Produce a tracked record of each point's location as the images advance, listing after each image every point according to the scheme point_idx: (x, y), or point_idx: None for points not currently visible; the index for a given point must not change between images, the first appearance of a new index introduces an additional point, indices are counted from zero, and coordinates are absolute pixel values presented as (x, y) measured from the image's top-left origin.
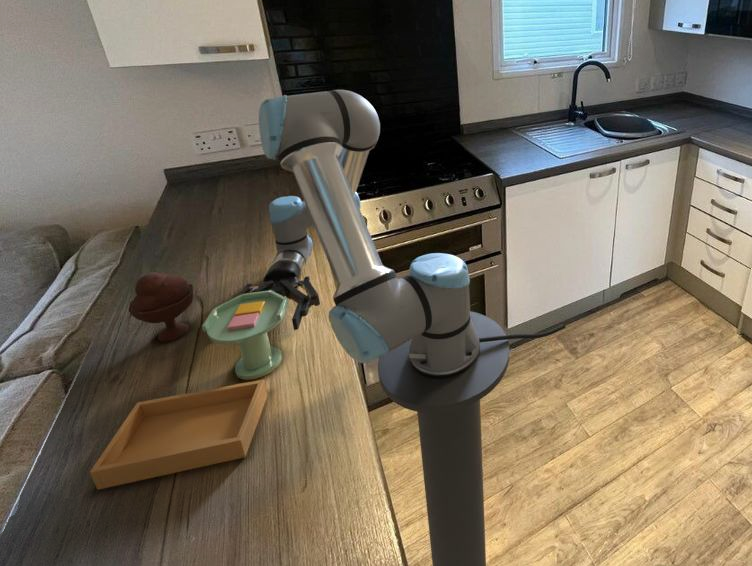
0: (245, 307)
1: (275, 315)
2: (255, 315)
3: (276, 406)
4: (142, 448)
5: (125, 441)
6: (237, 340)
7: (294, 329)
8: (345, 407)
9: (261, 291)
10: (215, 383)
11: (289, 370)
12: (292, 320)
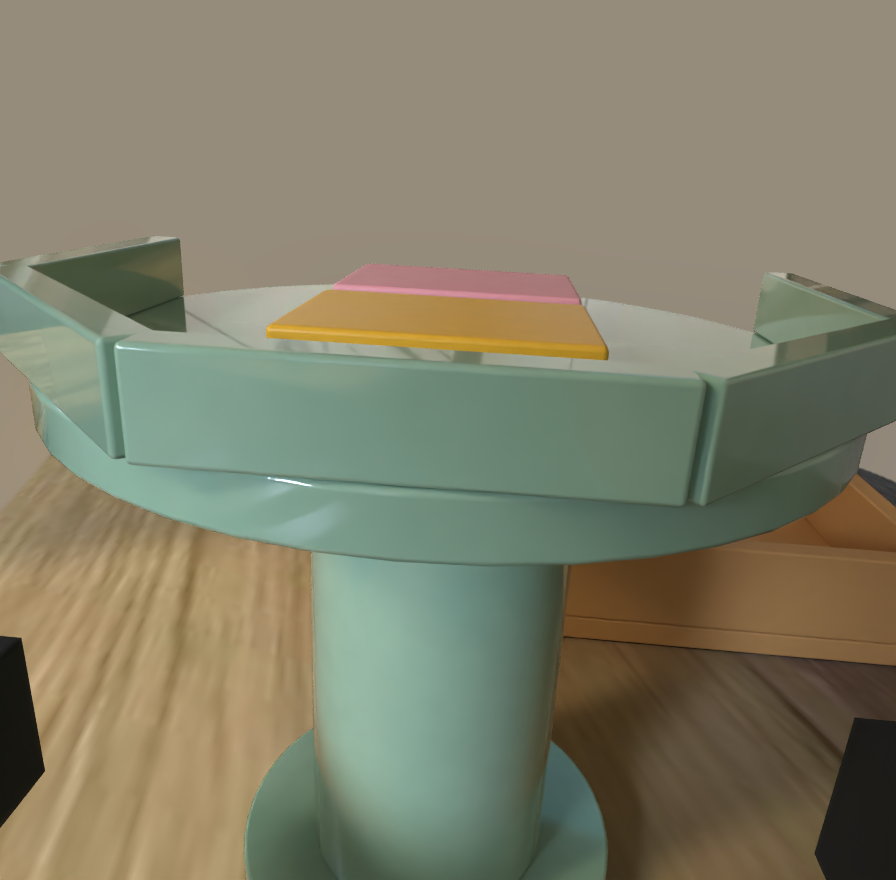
0: (500, 318)
1: (188, 310)
2: (361, 276)
3: (305, 566)
4: (761, 537)
5: (842, 533)
6: None
7: (38, 767)
8: (54, 504)
9: (302, 356)
10: (690, 772)
11: (214, 722)
12: (19, 652)
